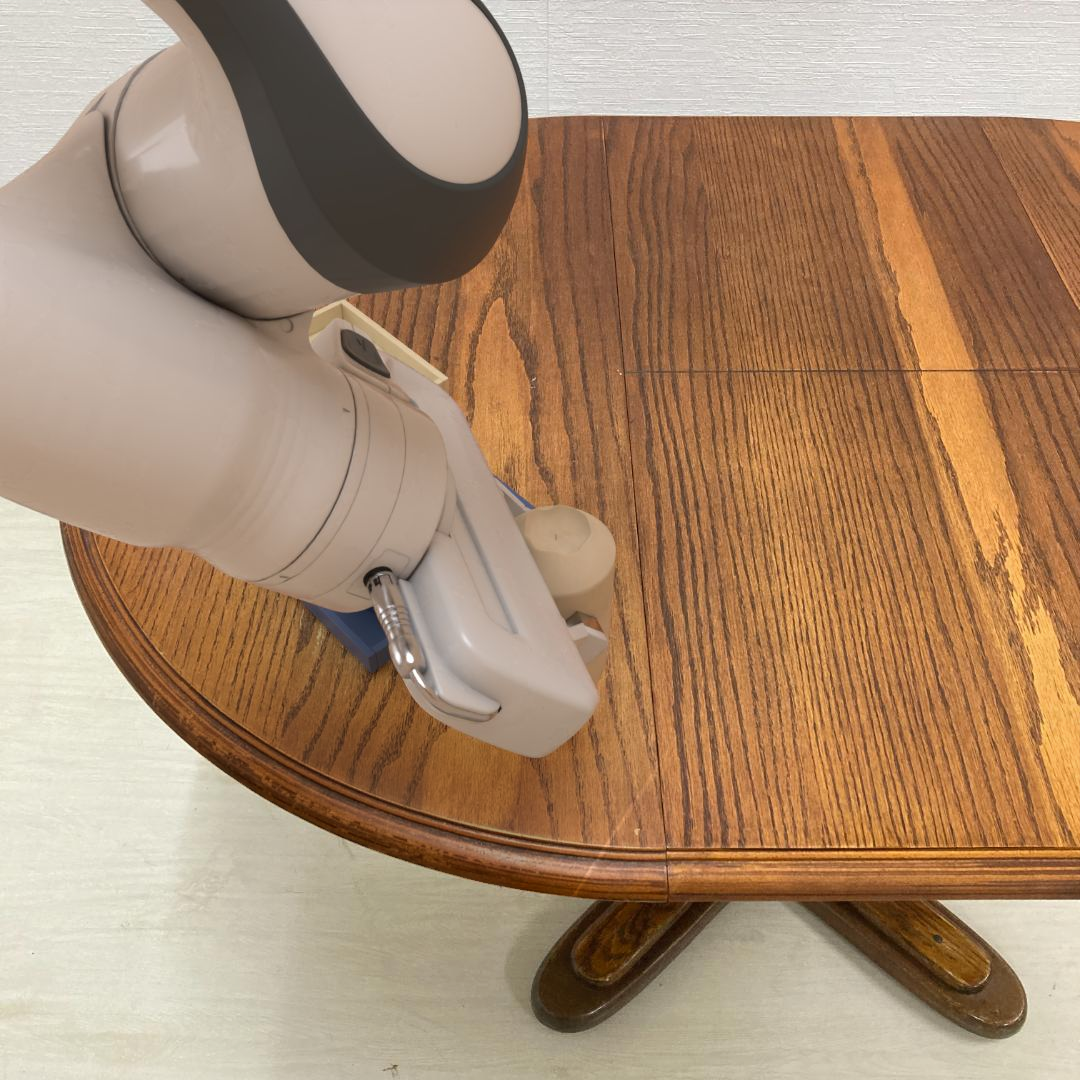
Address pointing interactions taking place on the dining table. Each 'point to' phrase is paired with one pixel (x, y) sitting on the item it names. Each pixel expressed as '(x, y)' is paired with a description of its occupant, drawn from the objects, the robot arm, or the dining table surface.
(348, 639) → the blue tray
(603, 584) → the candle
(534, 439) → the dining table surface
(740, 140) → the dining table surface
